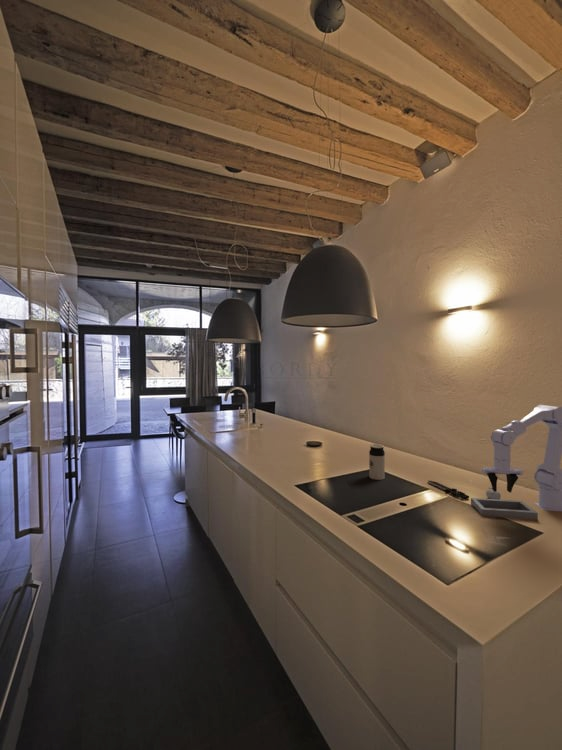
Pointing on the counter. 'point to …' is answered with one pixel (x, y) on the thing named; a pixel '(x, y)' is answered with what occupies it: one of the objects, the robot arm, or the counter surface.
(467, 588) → the counter surface
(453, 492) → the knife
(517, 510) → the tray
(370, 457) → the travel mug
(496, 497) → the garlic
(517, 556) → the counter surface
